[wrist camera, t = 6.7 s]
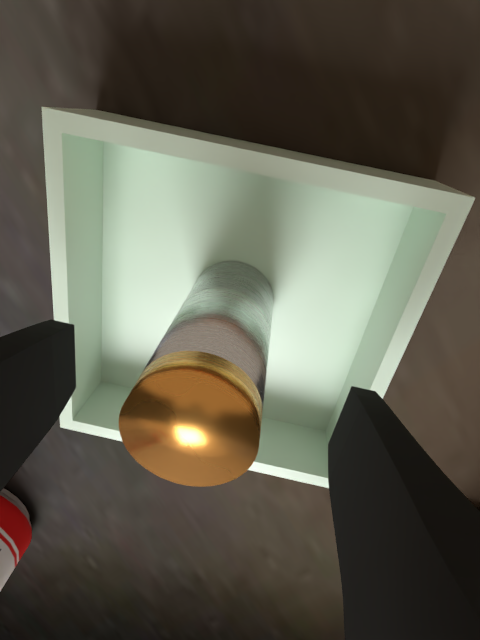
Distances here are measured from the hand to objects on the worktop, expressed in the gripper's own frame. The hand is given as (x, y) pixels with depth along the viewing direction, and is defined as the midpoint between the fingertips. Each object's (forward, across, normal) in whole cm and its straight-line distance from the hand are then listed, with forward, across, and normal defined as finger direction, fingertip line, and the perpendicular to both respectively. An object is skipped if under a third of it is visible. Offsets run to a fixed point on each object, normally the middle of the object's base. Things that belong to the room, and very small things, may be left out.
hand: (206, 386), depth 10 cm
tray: (+6, 0, 0) cm, 6 cm away
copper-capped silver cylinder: (+5, 0, 0) cm, 5 cm away
